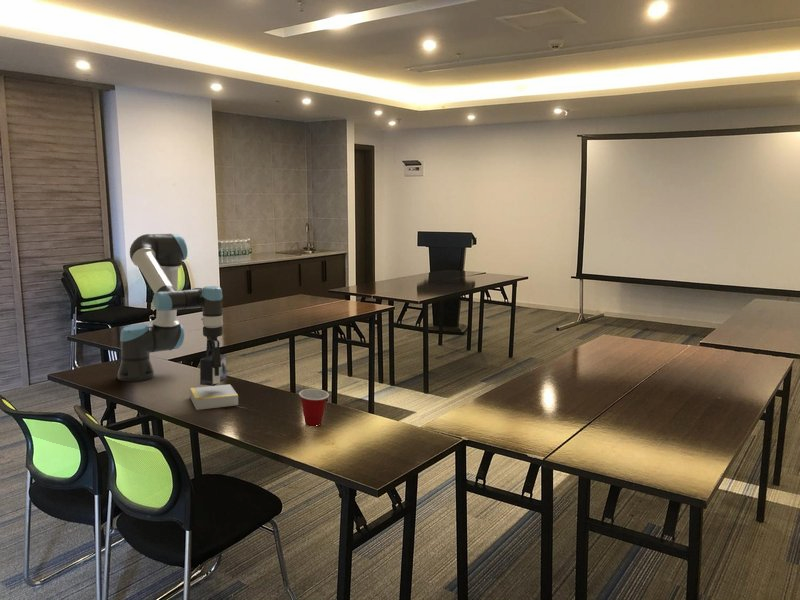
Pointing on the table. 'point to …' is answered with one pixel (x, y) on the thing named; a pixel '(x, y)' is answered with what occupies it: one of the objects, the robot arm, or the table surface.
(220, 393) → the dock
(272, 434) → the table surface
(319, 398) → the plastic cup
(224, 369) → the small box
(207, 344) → the robot arm
